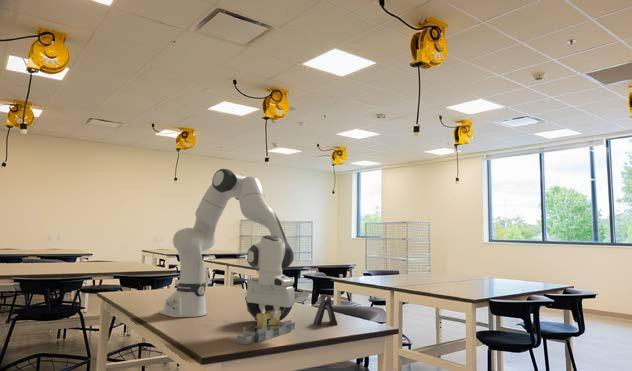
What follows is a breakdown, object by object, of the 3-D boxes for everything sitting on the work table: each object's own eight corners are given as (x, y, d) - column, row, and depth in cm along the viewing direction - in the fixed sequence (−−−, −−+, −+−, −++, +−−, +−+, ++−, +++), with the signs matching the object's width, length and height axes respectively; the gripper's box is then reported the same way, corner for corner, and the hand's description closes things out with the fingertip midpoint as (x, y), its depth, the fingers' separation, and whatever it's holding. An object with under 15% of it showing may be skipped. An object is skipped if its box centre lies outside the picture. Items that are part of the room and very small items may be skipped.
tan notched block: (262, 333, 151) (263, 314, 152) (256, 332, 152) (256, 313, 153) (280, 327, 160) (280, 310, 161) (274, 326, 162) (274, 309, 163)
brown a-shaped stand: (316, 325, 175) (317, 296, 176) (313, 322, 181) (314, 294, 182) (337, 325, 177) (338, 295, 178) (333, 322, 183) (334, 293, 184)
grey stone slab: (249, 345, 141) (249, 332, 142) (233, 342, 145) (233, 329, 145) (297, 329, 167) (298, 318, 168) (283, 327, 171) (283, 316, 171)
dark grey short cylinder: (288, 327, 171) (290, 276, 173) (241, 323, 175) (243, 274, 177) (295, 322, 181) (296, 274, 183) (250, 319, 185) (252, 272, 188)
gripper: (243, 277, 161) (241, 315, 159) (287, 282, 151) (286, 321, 149) (253, 276, 166) (252, 312, 165) (297, 280, 156) (296, 319, 154)
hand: (269, 317), depth 157 cm, fingers closed on tan notched block, 3 cm apart
